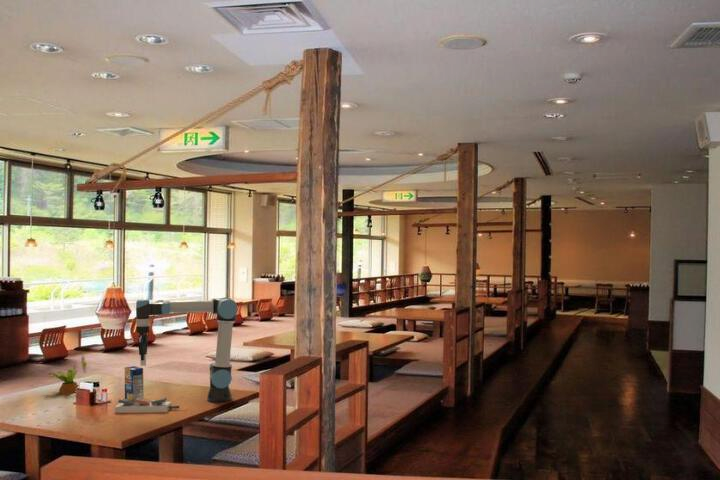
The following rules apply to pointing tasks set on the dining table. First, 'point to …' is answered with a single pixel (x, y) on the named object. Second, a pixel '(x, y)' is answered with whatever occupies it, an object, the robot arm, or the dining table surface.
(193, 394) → the dining table surface
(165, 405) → the power strip
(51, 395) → the dining table surface
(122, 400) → the rocker
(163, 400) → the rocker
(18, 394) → the dining table surface
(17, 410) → the dining table surface
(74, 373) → the decorative plant
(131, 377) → the beverage box
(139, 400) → the rocker
